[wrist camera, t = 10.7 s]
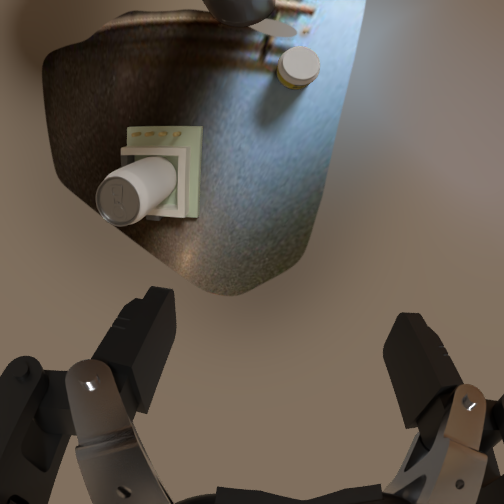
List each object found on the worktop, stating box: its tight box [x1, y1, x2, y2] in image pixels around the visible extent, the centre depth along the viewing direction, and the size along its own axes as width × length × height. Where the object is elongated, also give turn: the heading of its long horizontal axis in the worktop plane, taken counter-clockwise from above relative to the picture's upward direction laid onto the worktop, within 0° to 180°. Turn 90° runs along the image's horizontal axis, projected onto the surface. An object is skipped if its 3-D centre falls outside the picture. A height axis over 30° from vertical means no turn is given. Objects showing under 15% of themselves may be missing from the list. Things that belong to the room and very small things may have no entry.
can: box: [96, 156, 177, 227], centre depth 33 cm, size 6×6×12 cm
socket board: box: [121, 126, 203, 221], centre depth 38 cm, size 13×11×4 cm
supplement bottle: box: [277, 46, 320, 90], centre depth 29 cm, size 5×5×8 cm
